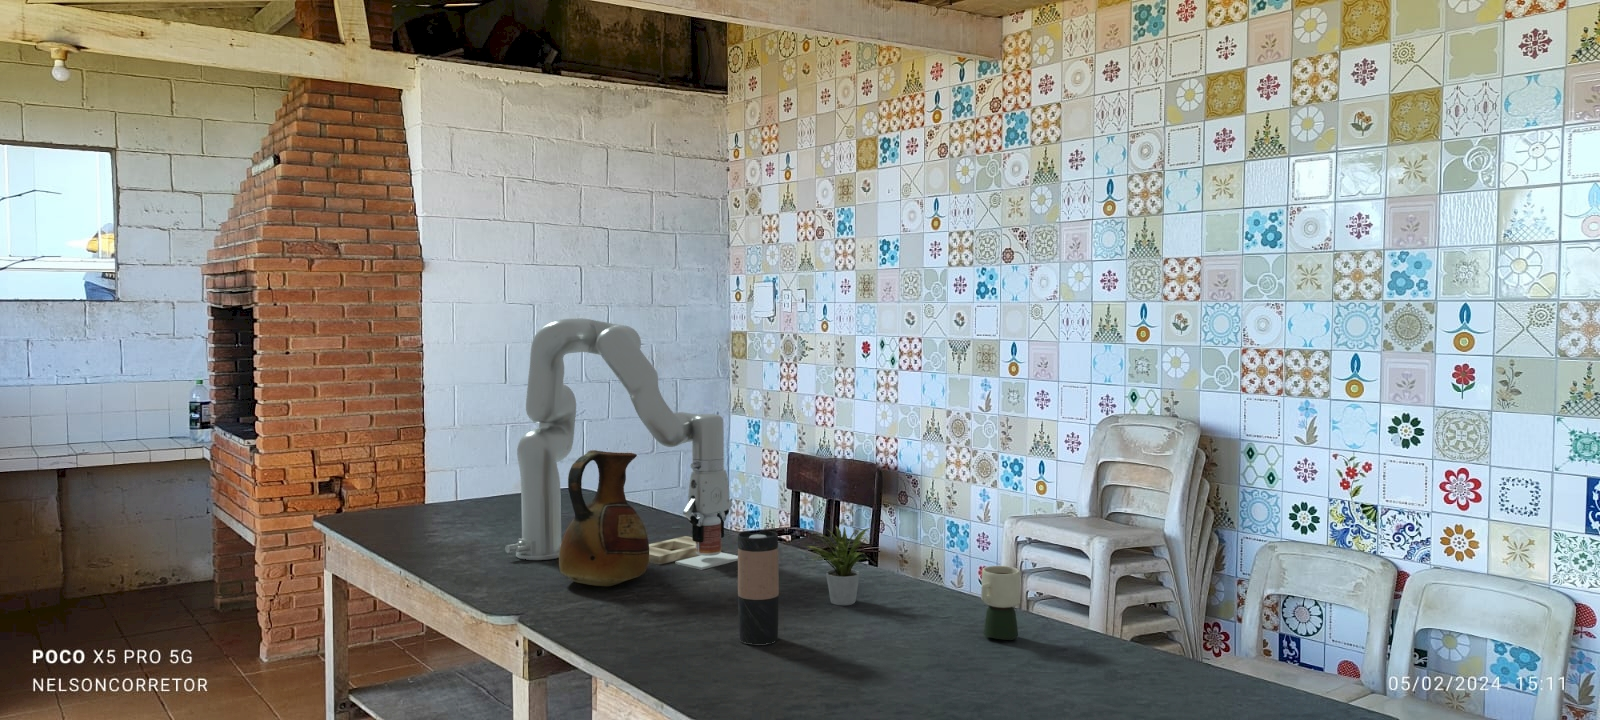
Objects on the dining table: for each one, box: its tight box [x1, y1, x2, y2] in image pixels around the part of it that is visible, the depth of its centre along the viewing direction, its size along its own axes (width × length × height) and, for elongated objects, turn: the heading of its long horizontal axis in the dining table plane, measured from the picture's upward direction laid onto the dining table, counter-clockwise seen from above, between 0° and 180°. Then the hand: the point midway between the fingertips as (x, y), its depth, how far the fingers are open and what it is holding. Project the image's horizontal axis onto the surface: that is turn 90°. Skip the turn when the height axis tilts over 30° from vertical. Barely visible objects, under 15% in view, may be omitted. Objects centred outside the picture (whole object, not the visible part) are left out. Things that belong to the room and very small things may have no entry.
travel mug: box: [737, 530, 780, 644], centre depth 211 cm, size 8×8×20 cm
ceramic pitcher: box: [558, 449, 650, 587], centre depth 254 cm, size 20×20×30 cm
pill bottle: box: [696, 512, 722, 556], centre depth 274 cm, size 6×6×11 cm
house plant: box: [806, 525, 872, 606], centre depth 238 cm, size 14×14×16 cm
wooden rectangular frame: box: [648, 535, 699, 566], centre depth 282 cm, size 20×12×2 cm, turn 139°
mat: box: [674, 551, 738, 571], centre depth 274 cm, size 14×9×1 cm, turn 139°
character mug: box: [980, 565, 1021, 641], centre depth 211 cm, size 11×7×13 cm, turn 131°
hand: (708, 538), depth 274 cm, fingers closed on pill bottle, 6 cm apart
